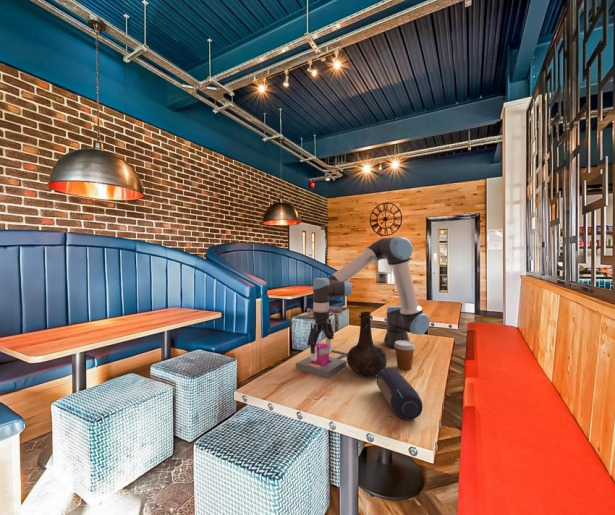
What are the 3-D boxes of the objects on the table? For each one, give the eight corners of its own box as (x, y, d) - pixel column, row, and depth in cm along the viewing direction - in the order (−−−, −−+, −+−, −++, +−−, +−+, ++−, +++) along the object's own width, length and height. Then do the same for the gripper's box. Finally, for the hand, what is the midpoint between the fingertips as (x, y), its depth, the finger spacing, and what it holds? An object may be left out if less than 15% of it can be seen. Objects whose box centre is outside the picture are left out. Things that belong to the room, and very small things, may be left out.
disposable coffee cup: (396, 362, 148) (396, 338, 148) (416, 366, 143) (416, 341, 143) (391, 369, 140) (391, 344, 140) (412, 373, 135) (412, 347, 135)
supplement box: (312, 367, 143) (312, 343, 143) (323, 365, 146) (323, 341, 146) (318, 371, 138) (318, 346, 138) (329, 369, 141) (329, 345, 141)
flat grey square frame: (348, 354, 161) (348, 353, 161) (334, 362, 149) (334, 361, 149) (325, 349, 170) (325, 348, 170) (310, 356, 158) (310, 355, 158)
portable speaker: (373, 389, 121) (373, 364, 121) (398, 388, 121) (398, 363, 121) (395, 425, 96) (395, 394, 95) (426, 423, 96) (426, 393, 96)
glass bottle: (382, 384, 124) (382, 317, 124) (341, 377, 132) (341, 314, 131) (389, 369, 140) (389, 310, 140) (352, 363, 148) (352, 307, 147)
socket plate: (346, 367, 143) (346, 360, 143) (328, 378, 130) (328, 371, 130) (315, 359, 154) (315, 352, 154) (296, 369, 141) (296, 362, 141)
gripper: (328, 306, 154) (328, 347, 154) (299, 314, 134) (299, 361, 135) (340, 307, 149) (340, 350, 150) (312, 316, 130) (313, 365, 130)
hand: (321, 356), depth 142 cm, fingers open, 12 cm apart
